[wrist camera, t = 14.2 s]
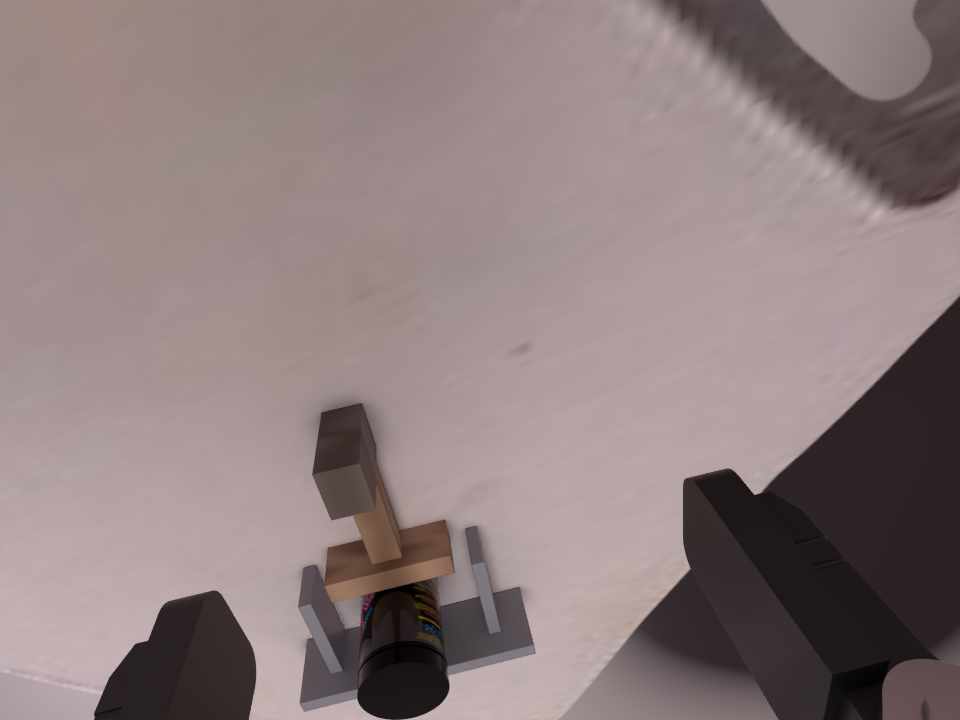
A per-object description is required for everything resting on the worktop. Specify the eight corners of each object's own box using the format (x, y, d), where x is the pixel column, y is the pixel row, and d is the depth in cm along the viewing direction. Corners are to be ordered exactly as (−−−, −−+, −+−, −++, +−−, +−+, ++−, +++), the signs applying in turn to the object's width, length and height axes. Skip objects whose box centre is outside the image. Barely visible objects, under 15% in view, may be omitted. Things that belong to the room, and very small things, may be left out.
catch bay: (311, 647, 55) (304, 711, 49) (274, 574, 50) (262, 637, 45) (521, 595, 56) (535, 653, 50) (505, 519, 51) (519, 574, 45)
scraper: (335, 563, 50) (329, 636, 44) (274, 423, 43) (256, 487, 37) (449, 535, 51) (459, 603, 45) (408, 392, 43) (413, 450, 37)
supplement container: (383, 541, 50) (383, 653, 41) (451, 564, 52) (466, 673, 43) (347, 593, 52) (340, 710, 43) (414, 612, 55) (421, 726, 46)
